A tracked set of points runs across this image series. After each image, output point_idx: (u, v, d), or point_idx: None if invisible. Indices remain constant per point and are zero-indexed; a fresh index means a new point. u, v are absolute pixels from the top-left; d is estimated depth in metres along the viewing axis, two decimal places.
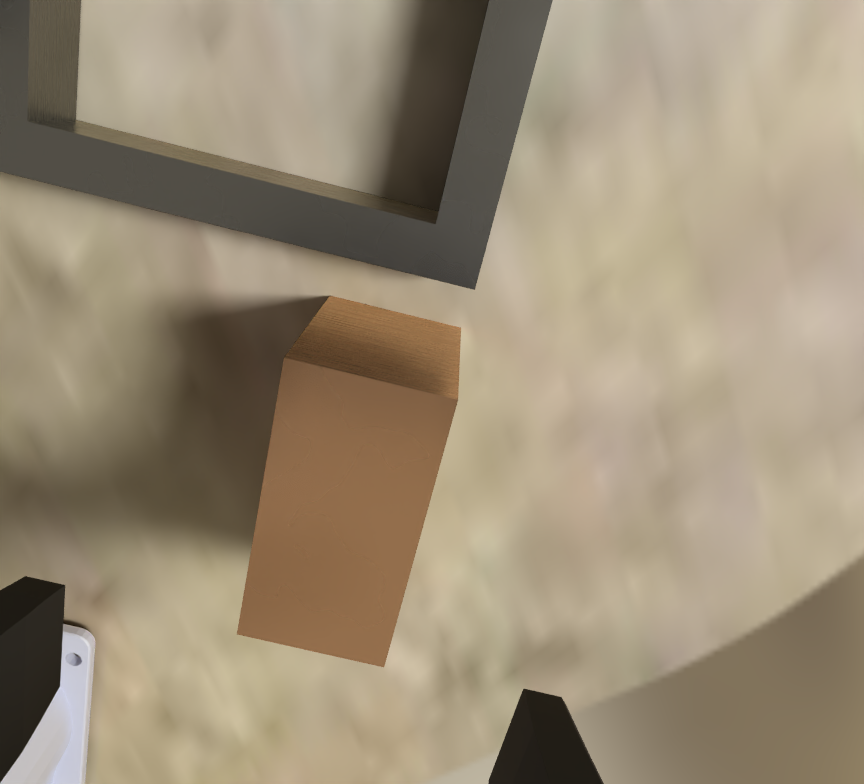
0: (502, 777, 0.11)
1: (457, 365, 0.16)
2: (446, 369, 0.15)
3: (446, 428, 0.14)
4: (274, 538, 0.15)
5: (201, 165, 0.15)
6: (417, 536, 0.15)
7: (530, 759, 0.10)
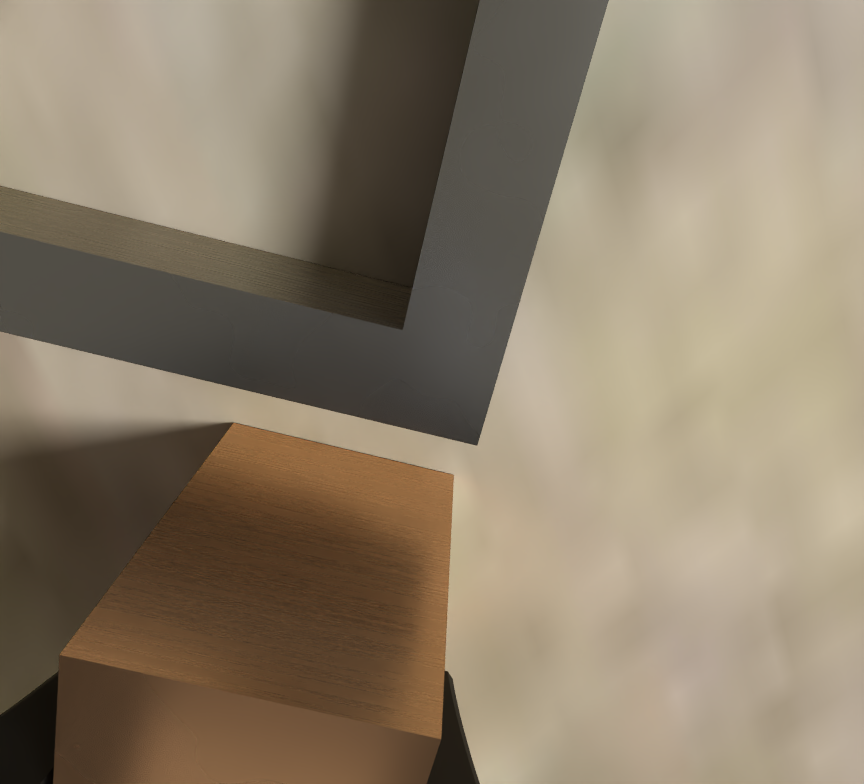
0: None
1: (444, 598, 0.08)
2: (422, 620, 0.08)
3: None
4: None
5: None
6: None
7: None
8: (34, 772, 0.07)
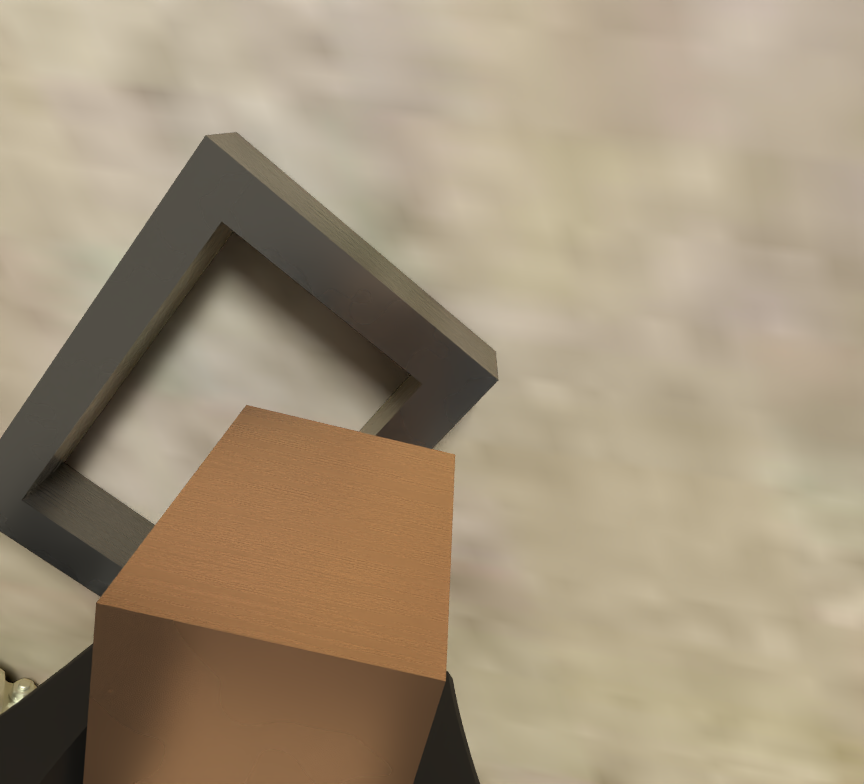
0: None
1: (447, 562, 0.09)
2: (426, 581, 0.08)
3: (423, 729, 0.07)
4: None
5: None
6: None
7: None
8: (33, 772, 0.07)
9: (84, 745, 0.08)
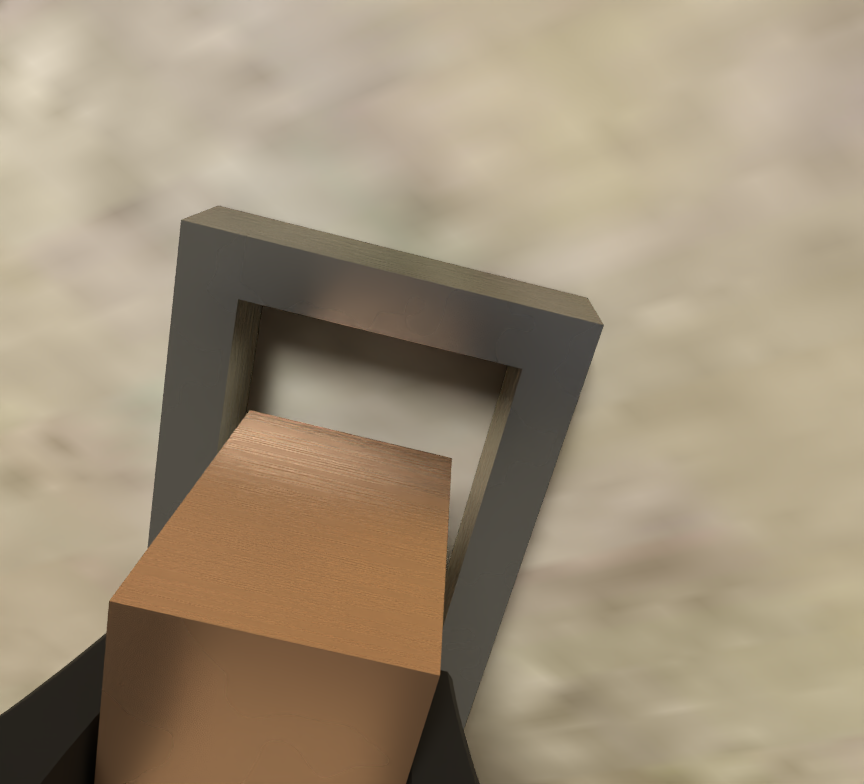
0: None
1: (442, 562, 0.09)
2: (423, 581, 0.09)
3: (419, 721, 0.08)
4: None
5: (455, 586, 0.15)
6: None
7: None
8: (34, 772, 0.07)
9: (85, 745, 0.08)
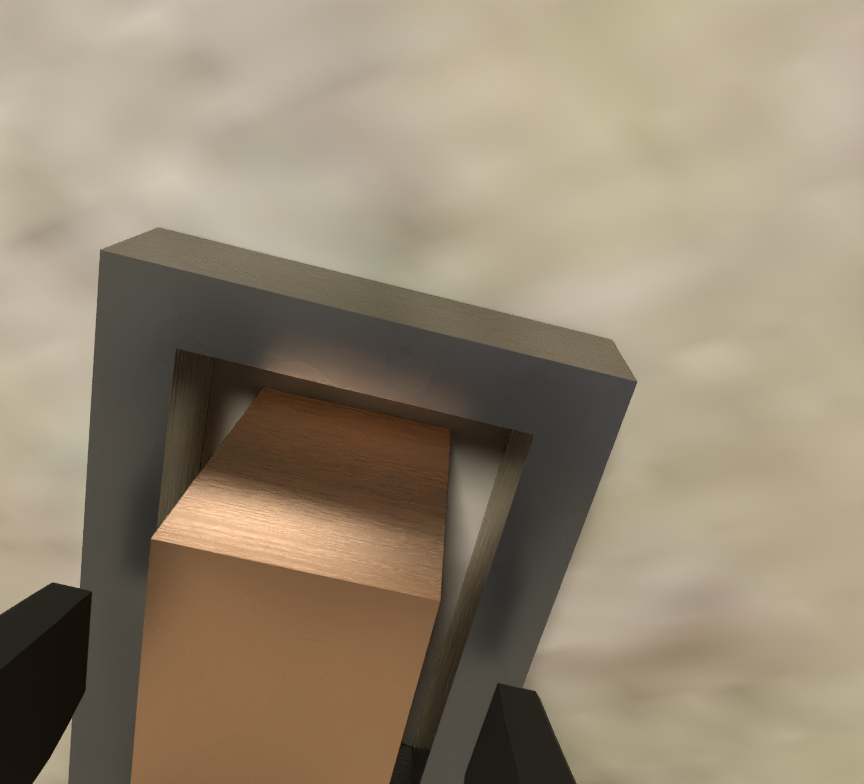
0: (476, 771, 0.11)
1: (442, 512, 0.10)
2: (424, 526, 0.10)
3: (423, 643, 0.09)
4: None
5: (451, 689, 0.13)
6: None
7: (501, 753, 0.10)
8: None
9: None
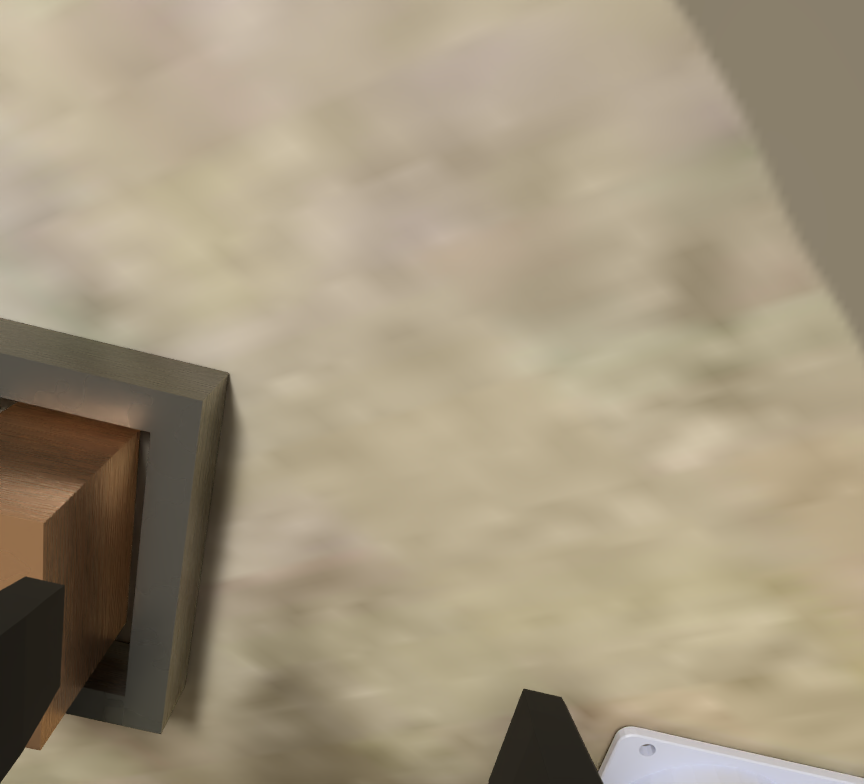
0: (502, 777, 0.11)
1: (86, 479, 0.17)
2: (67, 486, 0.17)
3: (39, 547, 0.16)
4: None
5: (135, 596, 0.20)
6: None
7: (530, 759, 0.10)
8: None
9: None
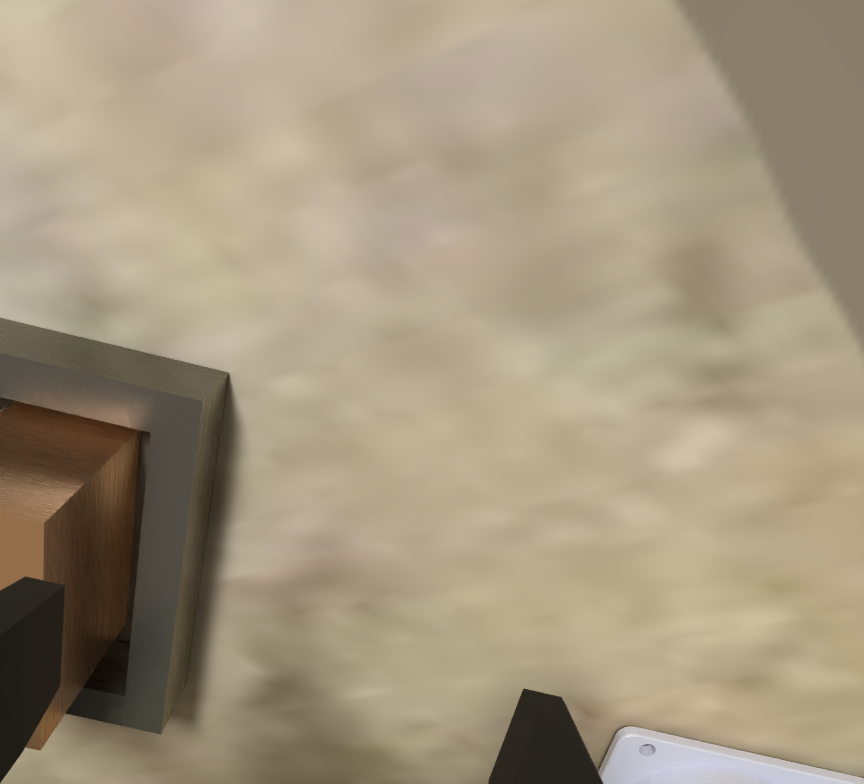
0: (502, 777, 0.11)
1: (87, 479, 0.17)
2: (67, 486, 0.17)
3: (39, 547, 0.16)
4: None
5: (135, 596, 0.20)
6: None
7: (530, 759, 0.10)
8: None
9: None
